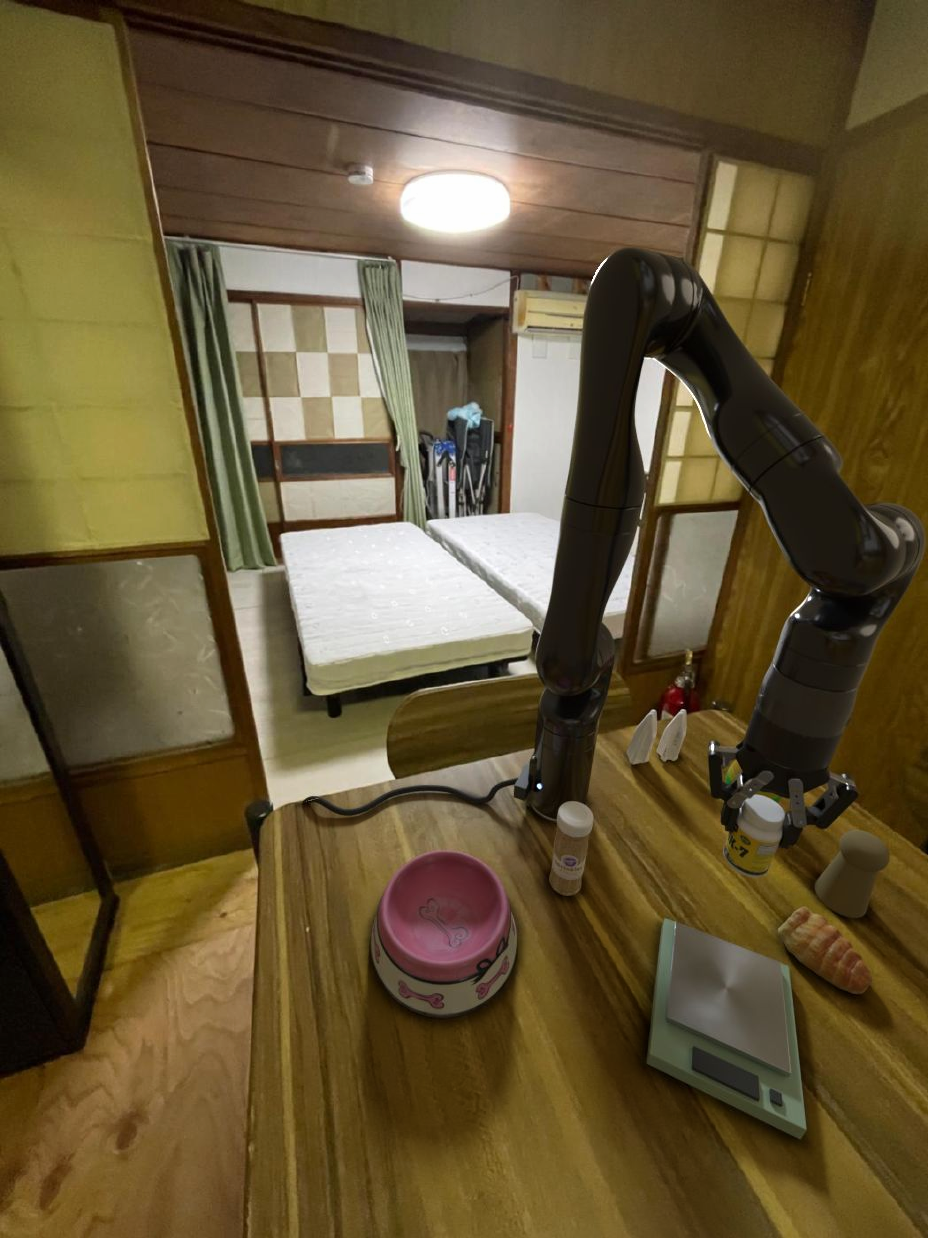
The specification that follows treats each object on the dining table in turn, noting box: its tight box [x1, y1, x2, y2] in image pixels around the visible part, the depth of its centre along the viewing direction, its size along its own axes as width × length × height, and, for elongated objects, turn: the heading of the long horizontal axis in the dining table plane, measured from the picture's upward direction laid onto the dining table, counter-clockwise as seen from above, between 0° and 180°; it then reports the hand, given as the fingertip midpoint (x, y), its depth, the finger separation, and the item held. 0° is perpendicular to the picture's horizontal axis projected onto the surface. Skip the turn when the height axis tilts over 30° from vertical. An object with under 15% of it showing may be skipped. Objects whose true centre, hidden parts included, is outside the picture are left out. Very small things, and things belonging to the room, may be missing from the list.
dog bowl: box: [369, 849, 518, 1019], centre depth 64 cm, size 18×19×7 cm
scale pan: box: [666, 921, 791, 1077], centre depth 57 cm, size 12×12×1 cm
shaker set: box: [626, 708, 687, 765], centre depth 93 cm, size 12×4×11 cm, turn 107°
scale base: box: [646, 917, 808, 1140], centre depth 57 cm, size 14×16×2 cm
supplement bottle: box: [722, 795, 786, 878], centre depth 57 cm, size 5×5×8 cm
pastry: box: [777, 906, 874, 995], centre depth 62 cm, size 9×7×4 cm
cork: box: [813, 829, 891, 919], centre depth 68 cm, size 6×6×11 cm
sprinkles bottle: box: [548, 801, 594, 897], centre depth 69 cm, size 5×5×13 cm
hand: (754, 834), depth 57 cm, fingers closed on supplement bottle, 4 cm apart
